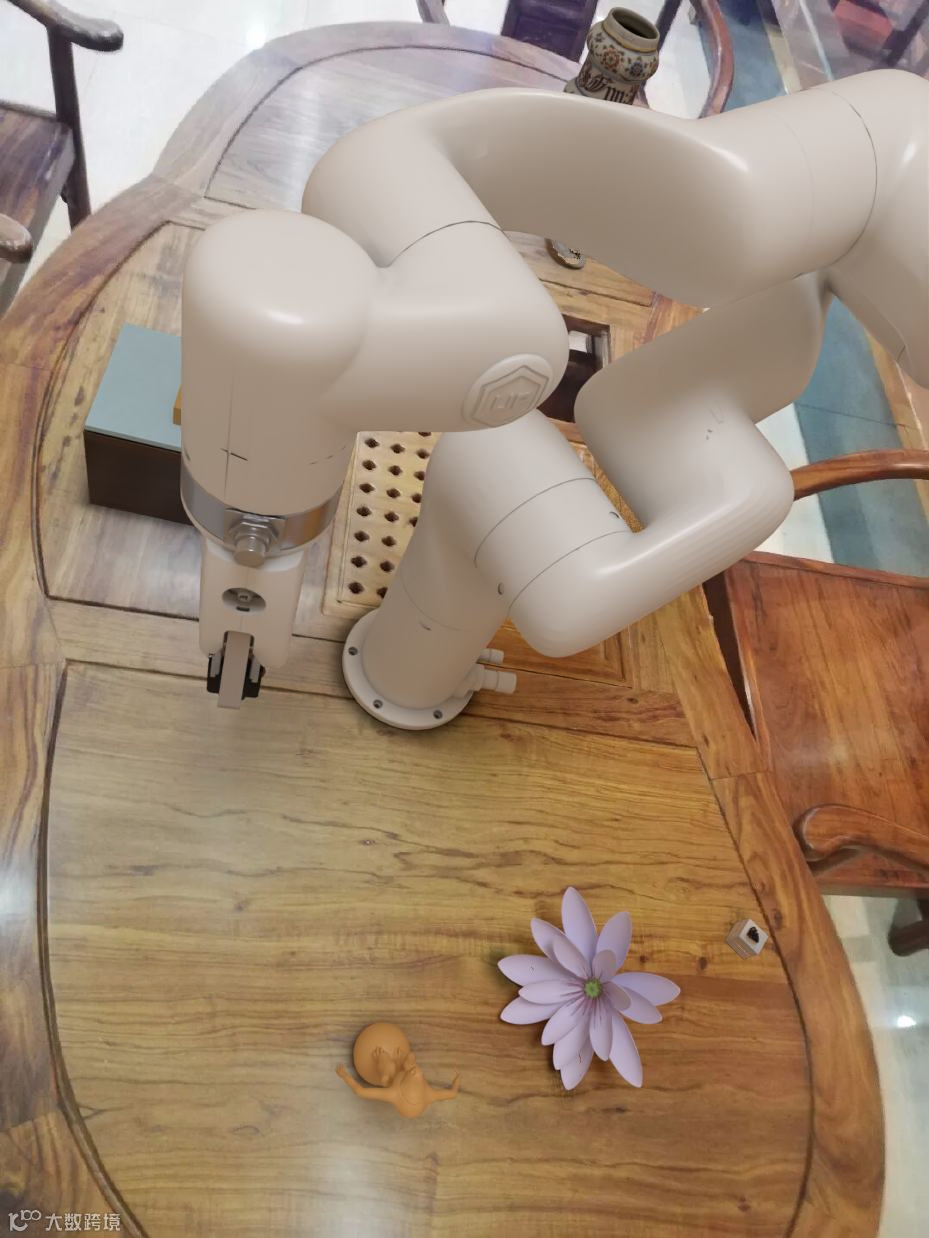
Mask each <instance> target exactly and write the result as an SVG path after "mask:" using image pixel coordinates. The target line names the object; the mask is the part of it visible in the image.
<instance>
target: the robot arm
mask: <svg viewBox="0 0 929 1238" xmlns="http://www.w3.org/2000/svg"><path fill="white" fill-rule="evenodd" d="M505 232H516V233H523V234H527V235H528V234H529V235H534V236H536V237H540V238H544V239H547V240H550V239H551V240H553V241H556V242H559V243H561V244H564V245H566V247H569V248H570V247H571V248H573V249H575V250H576V251H579V252H581V253H583V254H585V256H587V257H588V258H591V259H593V260H594V261H595V262H598V263H600V264H601V265H603V266H605V267H607V268H608V269H610V270H612V271H613V272H615V273H617V274H619V275H620V276H622V277H624V278H625V279H627V280H629V281H632V282H633V283H635V284H637V285H639V286H641V287H643V288H646V289H648V290H649V291H652V292H654V293H656V294H658V295H660V296H663V297H665V298H666V299H670V300H672V301H674V302H677V303H679V304H682V305H685V306H689V307H694V308H698V309H699V308H701V309H706V310H705V311H703V312H700V313H699V314H697V315H696V316H694V317H692V318H690V319H688V320H685V322H683V323H681V324H679V325H676V326H675V327H673V328H671V329H669V330H667V331H666V332H664V333H662V334H660V335H658V336H656V337H654V338H652V339H650V340H649V341H646V343H644V344H642V345H640V346H638V347H637V348H634V349H632V350H631V351H629V352H627V353H625V354H623V355H621V356H620V357H618V358H617V359H615V360H612V361H611V362H610V363H607V365H605V366H604V367H602V368H600V369H599V370H598V371H596V372H595V373H594V374H593V375H592V376H591V377H590V378H589V379H588V380H587V381H586V382H584V384H583V385H582V386H581V388H580V390H579V391H578V392H577V395H576V398H575V402H574V405H573V415H574V423H575V426H576V428H577V432H578V435H579V436H580V438H581V440H582V442H583V443H584V445H585V446H586V448H587V450H588V451H589V454H590V455H591V456H592V458H593V459H594V461H595V463H596V464H597V465H598V467H599V468H600V470H601V471H602V473H603V474H604V476H605V477H606V478H607V480H608V481H609V482H610V484H611V485H612V487H613V488H614V489H615V491H616V492H617V494H618V495H619V496H620V498H621V499H622V501H623V502H624V503H625V504H626V506H627V508H628V509H629V510H630V511H631V513H632V514H633V515H634V517H635V519H636V520H637V521H638V523H639V524H640V525H641V528H642V529H641V530H639V531H637V532H634V531H632V529H631V528H630V526H629V525H628V523H627V522H626V521H625V519H624V518H623V516H622V515H621V513H620V512H619V511H618V510H617V508H616V507H615V505H614V504H613V503H612V501H611V500H610V498H609V497H608V495H607V494H606V493H605V491H604V490H603V489H602V487H601V485H600V483H599V481H598V480H597V478H595V476H594V475H593V473H592V472H591V470H590V469H589V468H588V466H587V465H586V464H585V462H584V461H583V460H582V458H581V457H580V456H579V454H578V452H577V451H576V450H575V448H574V447H573V445H572V444H571V443H570V441H569V440H568V438H567V437H566V436H565V435H564V433H562V431H561V430H560V429H559V427H557V425H556V424H555V423H554V422H553V421H551V419H550V418H549V417H548V416H546V415H545V414H544V413H543V411H541V410H539V409H538V407H539V406H540V405H542V404H543V403H544V402H545V401H546V400H547V399H548V398H549V397H551V395H552V393H553V392H554V391H555V390H556V389H557V387H558V386H559V384H560V382H561V381H562V379H563V377H564V374H565V372H566V369H567V366H568V363H569V359H570V358H569V357H570V348H571V347H570V339H569V332H568V329H567V325H566V322H565V318H564V316H563V314H562V313H561V310H560V308H559V306H558V305H557V303H556V302H555V301H554V298H553V297H552V295H551V293H550V292H549V290H548V289H547V287H545V286H544V284H543V283H542V281H541V280H540V279H539V277H538V276H537V275H536V273H535V272H534V271H533V270H532V268H531V267H530V265H529V264H528V262H527V261H526V260H525V259H524V258H523V256H522V255H521V253H520V252H519V251H518V250H517V249H516V247H515V246H514V244H513V243H512V241H511V240H510V238H509V237H508V236H507V234H506V233H505ZM551 240H550V241H551ZM181 282H182V285H181V336H180V337H181V485H180V486H181V500H182V503H183V506H184V509H185V511H186V513H187V515H188V517H189V518H190V520H191V521H192V523H193V524H194V525H193V526H194V527H195V528H196V529H197V530H198V531H199V532H200V533H201V534H202V538H201V539H202V540H201V541H202V542H201V555H200V556H201V559H200V577H199V579H200V580H199V581H200V582H199V602H198V603H199V605H198V609H199V610H198V646H199V650H200V651H201V653H202V654H203V655H204V657H206V658H207V660H208V663H207V673H206V675H207V676H206V687H205V689H206V692H208V693H210V694H215V695H218V698H217V704H216V707H217V708H218V709H219V708H221V709H226V710H227V709H228V710H236V711H240V710H241V704H242V701H244V700H245V699H246V698H248V699H256V698H258V697H259V694H260V690H261V684H262V679H263V677H262V675H263V669H264V667H265V668H270V669H271V668H272V669H279V668H280V667H281V668H282V666H284V665H285V664H286V663H287V661H288V658H289V651H290V648H291V647H290V646H291V642H292V638H293V637H292V636H293V632H294V627H295V622H296V617H297V612H298V608H299V603H300V598H301V594H302V589H303V584H304V579H305V576H306V575H305V574H306V570H307V564H308V559H309V555H310V554H309V553H310V549H311V548H310V547H312V546H313V545H315V544H316V543H317V542H319V541H320V540H321V539H322V538H323V537H324V536H325V535H326V534H327V532H328V531H329V530H330V529H331V527H332V525H333V523H334V520H335V517H336V514H337V511H338V507H339V503H340V499H341V496H342V491H343V488H344V485H345V480H346V477H347V473H348V470H349V466H350V463H351V458H352V456H353V452H354V447H355V444H356V439H357V437H358V433H360V432H398V433H399V432H401V433H402V432H403V433H406V432H407V433H441V434H440V435H439V437H438V439H437V440H436V442H435V444H434V446H433V448H432V450H431V452H430V456H429V459H428V461H427V465H426V467H425V474H424V477H423V484H422V491H421V499H420V508H419V512H418V516H417V521H416V523H415V526H414V529H413V532H412V534H411V536H410V539H409V540H408V543H407V546H406V548H405V549H404V550H405V551H404V552H403V554H402V556H401V558H400V560H399V563H398V565H397V568H396V569H395V572H394V574H393V577H392V578H391V581H390V583H389V585H388V587H387V590H386V592H385V594H384V597H383V598H382V601H381V603H380V604H379V605H380V606H379V607H378V608H375V609H373V610H371V611H369V612H368V613H366V614H364V616H362V617H361V618H360V619H359V620H358V621H357V622H356V623H355V624H354V625H353V626H352V628H351V630H350V632H349V633H348V636H347V638H346V640H345V643H344V645H343V651H342V655H341V660H342V663H341V664H342V673H343V677H344V681H345V682H346V685H347V687H348V689H349V692H350V693H351V695H352V696H353V698H354V699H355V701H356V702H357V704H359V706H360V707H361V708H363V709H364V711H366V712H367V713H368V714H369V715H371V716H372V717H374V718H375V719H377V720H378V721H380V722H383V723H384V724H387V725H389V726H391V727H395V728H398V729H403V730H410V731H411V730H412V731H420V730H421V731H422V730H430V729H434V728H437V727H440V726H443V725H445V724H447V723H448V722H450V721H451V720H454V718H455V717H457V716H458V715H459V714H460V713H461V712H462V711H463V709H464V708H465V707H466V706H467V704H468V702H469V701H470V699H471V698H472V696H473V694H474V692H479V691H481V689H485V690H490V691H491V690H492V692H496V693H497V692H498V693H503V694H508V695H513V694H514V692H515V690H516V686H517V679H518V678H517V674H516V673H513V672H509V671H503V670H493V669H492V670H491V669H487V668H485V665H484V664H481V663H477V662H479V661H480V662H484V663H485V662H486V663H487V664H491V665H496V666H501V665H502V664H503V660H504V656H505V655H504V654H505V653H504V651H503V650H501V649H495V648H487V647H488V645H489V644H490V643H491V641H492V639H493V638H494V637H495V635H496V634H497V632H498V631H499V630H500V628H501V627H502V626H503V625H504V623H505V621H507V618H509V619H510V621H511V622H512V624H513V625H514V627H515V629H516V630H517V631H518V633H519V634H520V635H521V637H522V638H523V640H524V641H525V642H526V643H527V644H528V645H529V647H531V648H532V649H533V650H534V651H536V652H537V653H539V654H540V655H543V656H545V657H549V658H565V657H571V656H574V655H576V654H579V653H581V652H584V651H587V650H588V649H590V648H593V647H595V646H596V645H599V644H600V643H602V642H604V641H606V640H607V639H609V638H611V637H612V636H615V635H617V634H618V633H620V632H621V631H624V630H625V629H627V628H629V627H630V626H632V625H634V624H635V623H637V622H639V621H641V620H642V619H643V618H645V617H647V616H649V615H650V614H653V613H654V612H656V611H657V610H659V609H660V608H662V607H664V606H666V605H668V604H669V603H671V602H673V601H674V600H676V599H678V598H679V597H681V596H683V595H684V594H686V593H688V592H690V591H691V590H693V589H695V588H696V587H698V586H700V585H701V584H703V583H705V582H706V581H708V580H710V579H712V578H713V577H715V576H716V575H718V574H720V573H722V572H723V571H725V570H727V569H729V568H730V567H731V566H733V565H735V564H736V563H737V562H739V561H741V560H742V559H743V558H745V557H747V556H748V555H750V553H752V552H754V551H755V550H756V549H758V548H759V547H760V546H761V545H763V543H765V542H766V541H767V540H768V539H769V538H770V537H771V536H772V535H773V534H774V533H775V532H776V531H777V530H778V529H779V528H780V526H781V525H782V524H783V523H784V522H785V520H786V519H787V517H788V515H789V514H790V511H791V510H792V506H793V504H794V499H795V484H794V480H793V476H792V474H791V472H790V470H789V468H788V467H787V464H786V463H785V461H784V460H783V458H782V457H781V456H780V454H779V453H778V451H777V450H776V449H775V447H774V446H773V444H771V443H770V441H769V440H768V439H767V437H766V436H765V435H764V434H763V432H762V431H761V430H760V429H759V428H758V426H757V425H758V423H760V422H762V421H764V420H766V419H767V418H769V417H771V416H772V415H774V414H775V413H778V412H780V411H781V410H783V409H784V408H787V407H788V406H790V405H791V404H793V403H794V402H795V401H796V400H798V398H800V397H801V396H802V394H804V392H805V390H806V389H807V388H808V385H809V384H810V382H811V380H812V378H813V375H814V372H815V369H816V367H817V364H818V361H819V359H820V354H821V351H822V347H823V343H824V337H825V331H826V325H827V324H826V323H827V317H828V314H829V310H830V307H831V305H832V303H833V301H834V299H835V297H836V298H837V299H838V300H839V302H841V304H842V305H843V306H844V307H845V308H846V309H847V310H848V311H849V312H850V313H851V315H852V316H853V317H854V318H855V319H856V320H857V321H858V323H860V325H861V326H862V327H863V328H864V329H865V330H866V331H867V332H868V333H869V335H870V336H871V337H872V338H873V339H874V340H875V341H876V342H877V343H878V344H879V346H881V348H882V349H883V350H884V351H885V353H887V355H889V357H890V358H891V359H893V361H894V362H895V363H896V364H897V365H898V367H899V368H901V370H902V371H903V372H904V373H905V374H906V375H907V376H908V377H909V379H911V380H912V381H913V382H915V384H917V385H918V386H920V387H921V388H923V389H925V390H929V80H928V79H926V78H924V77H922V76H921V75H918V74H917V73H913V72H911V71H907V70H903V69H896V68H881V69H874V70H869V71H864V72H859V73H855V74H853V75H849V76H846V77H842V78H839V79H836V80H832V81H829V82H825V83H821V84H818V85H817V84H816V85H814V86H810V87H807V88H804V89H800V90H797V91H794V92H790V93H787V94H783V95H780V96H776V97H773V98H770V99H766V100H761V101H759V102H756V103H751V104H749V105H745V106H742V107H737V108H732V109H730V110H726V111H724V112H721V113H717V114H714V115H709V116H706V117H701V118H697V119H696V118H695V119H694V118H692V119H691V118H683V117H680V116H676V115H673V114H670V113H665V112H662V111H659V110H654V109H650V108H646V107H642V106H637V105H633V104H632V105H627V104H622V103H617V102H611V101H606V100H600V99H595V98H590V97H585V96H581V95H576V94H570V93H565V92H563V91H559V90H553V89H547V88H539V87H538V88H537V87H522V86H521V87H520V86H508V87H507V86H506V87H505V86H503V87H491V88H484V89H477V90H473V91H468V92H463V93H459V94H454V95H451V96H446V97H443V98H439V99H435V100H430V101H427V102H422V103H419V104H415V105H412V106H411V105H410V106H407V107H404V108H400V109H397V110H394V111H391V112H389V113H388V112H387V113H386V114H383V115H381V116H379V117H377V118H375V119H372V120H369V121H366V122H365V123H363V124H360V126H358V127H356V128H354V129H353V130H351V131H349V132H347V133H346V134H345V135H343V136H342V137H341V138H339V139H338V140H337V141H336V142H335V143H334V144H332V145H331V146H330V147H329V148H328V149H327V150H326V151H325V152H324V153H323V155H322V156H321V157H320V158H319V160H318V161H317V162H316V164H315V165H314V166H313V169H311V173H310V174H309V176H308V178H307V180H306V183H305V186H304V190H303V193H302V196H301V208H300V212H297V211H295V210H293V211H292V210H289V209H282V208H281V209H280V208H255V209H249V210H241V211H237V212H235V213H234V212H233V213H230V214H228V215H226V216H223V217H221V218H220V219H218V220H216V221H214V222H213V223H212V224H211V225H209V226H208V227H207V228H205V230H204V231H202V232H201V234H200V235H199V236H198V237H197V238H196V240H195V241H194V243H193V245H192V247H191V249H190V250H189V252H188V254H187V257H186V260H185V263H184V266H183V273H182V281H181ZM223 649H224V650H225V655H224V656H223ZM249 653H253V657H252V660H251V658H248V654H249ZM211 655H212V657H211ZM222 656H223V657H222Z"/></svg>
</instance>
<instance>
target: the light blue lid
mask: <svg viewBox="0 0 929 1238" xmlns="http://www.w3.org/2000/svg"><path fill="white" fill-rule="evenodd" d="M97 388H98V389H97V391H96V393H95V396H94V399H93V402H92V404H91V406H90V408H89V409H90V410H89V412H88V414H87V417H86V419H85V422H84V428H85V429H86V430H90V431H94V432H98V433H103V434H107V435H111V436H115V437H120V438H124V439H128V440H132V441H137V442H141V443H145V444H149V445H154V446H158V447H162V448H166V449H171V450H175V451H179V452H181V336H179V335H175V334H171V333H167V332H164V331H160V330H156V329H153V328H149V327H145V326H141V325H137V324H133V323H130V322H125V321H124V322H123V324H122V327H121V329H120V332H119V334H118V336H117V340H116V342H115V345H114V347H113V350H112V352H111V355H110V358H109V360H108V362H107V365H106V368H105V370H104V373H103V375H102V378H101V381H100V384H99V386H98V387H97Z"/></svg>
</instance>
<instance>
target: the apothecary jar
mask: <svg viewBox="0 0 929 1238" xmlns="http://www.w3.org/2000/svg"><path fill="white" fill-rule="evenodd" d="M660 38H661V35H660V31H659V30H658V28H657V26H655V25H654V24H653V23H652V22H651V21H650V20H649V19H648V18H646V17H644V16H643V15H641V14H640V13H638V12H636V11H635V10H632V9H629V8H627V7H623V6H615V7H614V6H613V7H611V8H610V10H609V11H608V13H607V15H606V17H605V18H604V19H603V20H600V21H598V22H596V23H594V24H592V26H591V27H590V28H589V29H588V31H587V34H586V38H585V41H586V49H587V50H588V52H587V55H586V57H585V60H584V62H583V64H582V66H581V68H580V71H579V73H578V74H577V76H573V78H571V79H569V80H568V82H567V83H566V84H565V85H564V88H563V90H562V92H565V93H570V94H576V95H581V96H585V97H590V98H595V99H600V100H606V101H611V102H617V103H622V104H627V105H632V106H633V104H634V102H635V99H636V97H637V95H638V92H639V90H640V88H641V86H642V84H643V82H644V81H646V80H648V79H651V78H652V77H653V76H654V75H655V74H656V72H657V71H658V68H659V65H660V56H659V52H658V50H657V49H658V44H659V42H660Z"/></svg>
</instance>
